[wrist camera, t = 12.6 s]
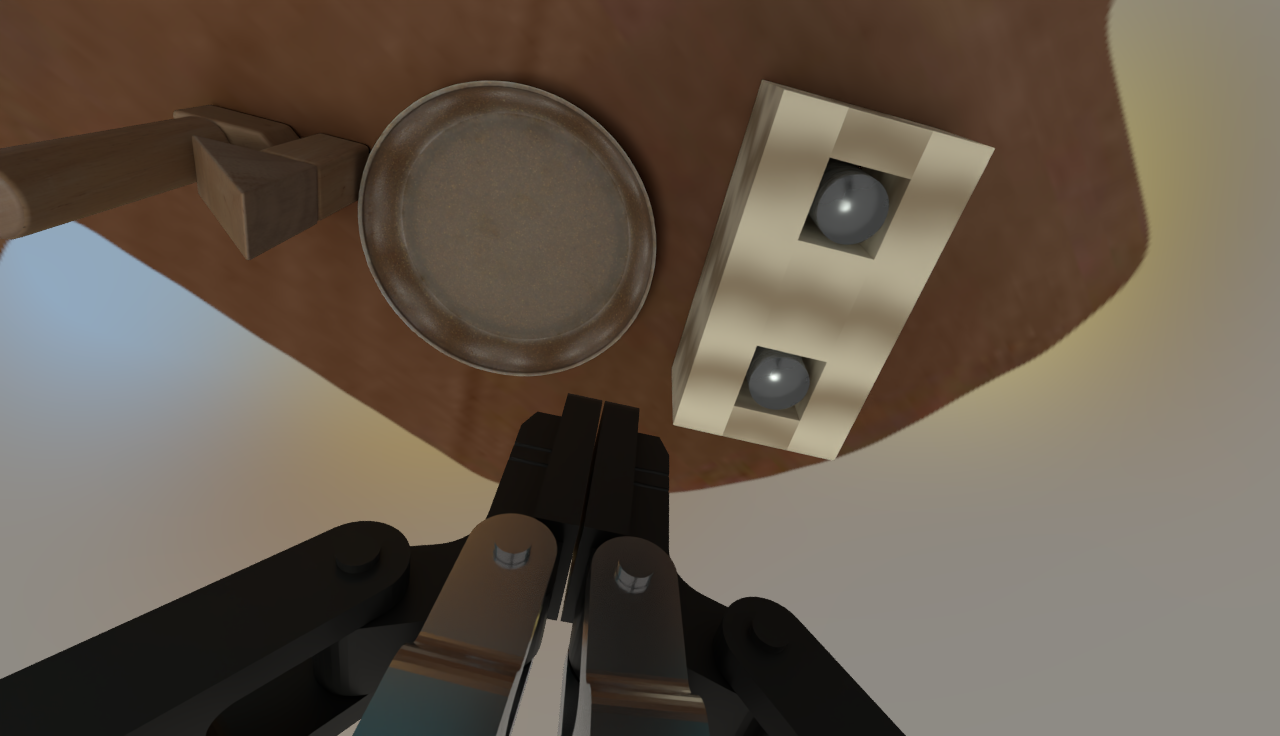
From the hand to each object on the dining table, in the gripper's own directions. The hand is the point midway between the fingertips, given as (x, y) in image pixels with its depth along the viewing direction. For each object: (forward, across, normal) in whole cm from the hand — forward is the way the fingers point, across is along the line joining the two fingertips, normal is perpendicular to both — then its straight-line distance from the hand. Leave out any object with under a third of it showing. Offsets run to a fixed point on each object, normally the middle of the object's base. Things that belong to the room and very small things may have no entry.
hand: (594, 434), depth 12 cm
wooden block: (+32, +24, +6) cm, 41 cm away
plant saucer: (+33, +8, +8) cm, 35 cm away
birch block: (+32, -12, +5) cm, 35 cm away
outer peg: (+32, -12, +11) cm, 36 cm away
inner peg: (+32, -12, -1) cm, 34 cm away
